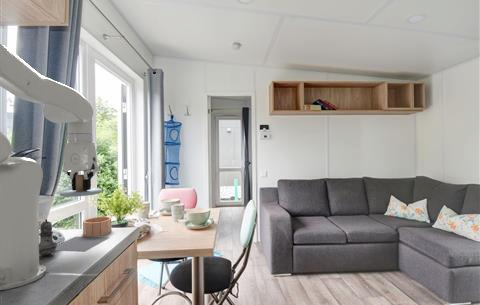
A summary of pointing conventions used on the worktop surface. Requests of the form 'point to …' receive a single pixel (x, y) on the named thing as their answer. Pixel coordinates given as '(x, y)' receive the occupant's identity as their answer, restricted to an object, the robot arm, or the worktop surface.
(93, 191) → the lid
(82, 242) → the mat
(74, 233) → the worktop surface
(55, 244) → the grey stone tower figurine
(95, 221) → the bowl
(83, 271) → the worktop surface
